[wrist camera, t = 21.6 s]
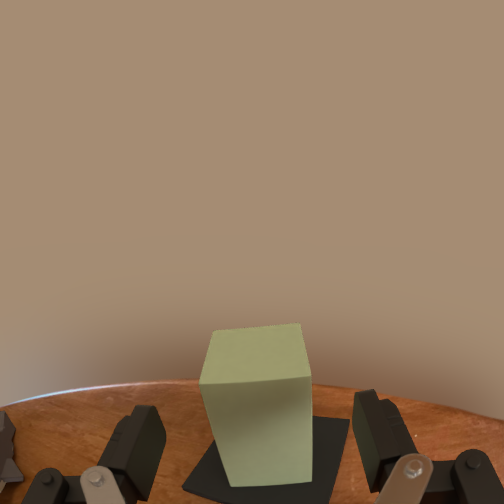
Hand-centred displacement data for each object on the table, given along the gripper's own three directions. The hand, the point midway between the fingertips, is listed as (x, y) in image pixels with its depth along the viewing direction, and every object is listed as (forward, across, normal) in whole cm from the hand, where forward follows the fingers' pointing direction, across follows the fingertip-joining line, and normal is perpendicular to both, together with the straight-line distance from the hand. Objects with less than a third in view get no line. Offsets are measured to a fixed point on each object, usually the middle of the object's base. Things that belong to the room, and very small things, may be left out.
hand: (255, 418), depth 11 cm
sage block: (+4, 0, -8) cm, 10 cm away
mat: (+4, 0, -9) cm, 10 cm away
